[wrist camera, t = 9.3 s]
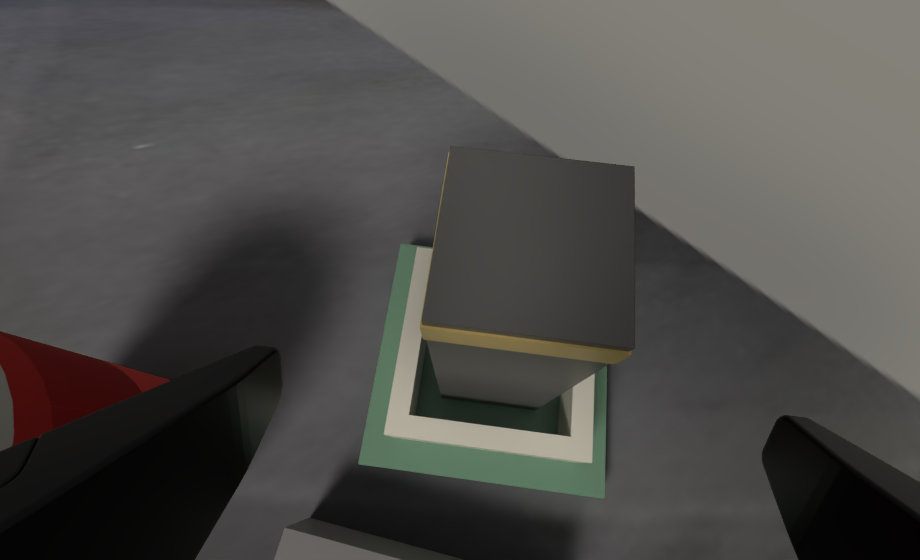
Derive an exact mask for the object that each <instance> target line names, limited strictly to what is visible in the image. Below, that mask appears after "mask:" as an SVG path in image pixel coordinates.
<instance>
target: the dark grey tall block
mask: <svg viewBox="0 0 920 560" xmlns="http://www.w3.org/2000/svg"><path fill="white" fill-rule="evenodd" d="M634 179H635V178H634V167H633V166H624V165H616V164H606V163H598V162H589V161H580V160H571V159H562V158H553V157H544V156H536V155H527V154H518V153H509V152H500V151H491V150H482V149H473V148H464V147H455V146H450V151H449V153H448V159H447V165H446V171H445V177H444V183H443V189H442V195H441V201H440V207H439V213H438V219H437V225H436V231H435V237H434V243H433V249H432V255H431V261H430V267H429V273H428V279H427V285H426V291H425V297H424V303H423V309H422V315H421V321H420V331H421V334H422V338H423V340H426V341H427V344H428V348H429V352H430V356H431V360H432V364H433V367H434V371H435V375H436V379H437V383H438V386H439V390H440V394H441V398H445V399H452V400H460V401H467V402H475V403H482V404H489V405H497V406H504V407H512V408H519V409H527V410H534V411H535V410H537V409H538V408H540V407H542V406H543V405H545V404H546V403H548V402H550V401H551V400H553V399H554V398H556V397H558V396H559V395H561V394H562V393H564V392H566V391H567V390H569V389H570V388H572V387H574V386H575V385H577V384H578V383H580V382H582V381H583V380H585V379H586V378H588V377H590V376H591V375H593V374H594V373H596V372H598V371H599V370H601V369H602V368H604V367H606V366H607V365H609V364H617V363H619V362H621V361H622V360H624V359H626V358H627V357H629V356H631V355H632V350H633V349H635V201H634V200H635V190H634V189H635V188H634V184H635V183H634V181H635V180H634Z"/></svg>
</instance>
